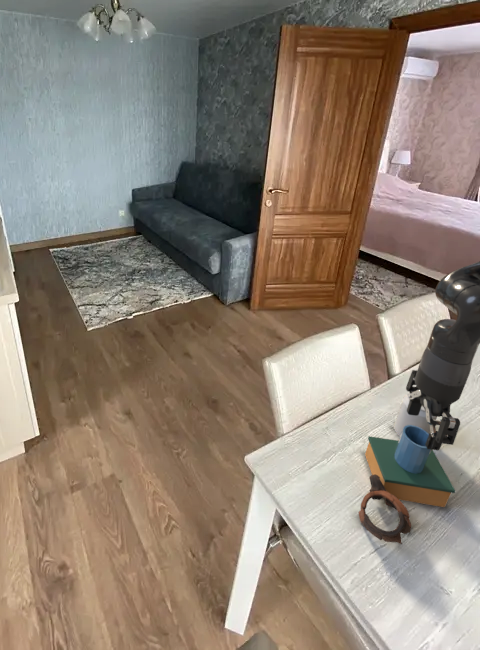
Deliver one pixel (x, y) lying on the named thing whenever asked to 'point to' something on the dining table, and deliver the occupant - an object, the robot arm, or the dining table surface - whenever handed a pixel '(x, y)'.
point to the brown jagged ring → (392, 501)
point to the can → (411, 418)
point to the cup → (412, 449)
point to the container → (408, 475)
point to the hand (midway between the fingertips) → (421, 430)
